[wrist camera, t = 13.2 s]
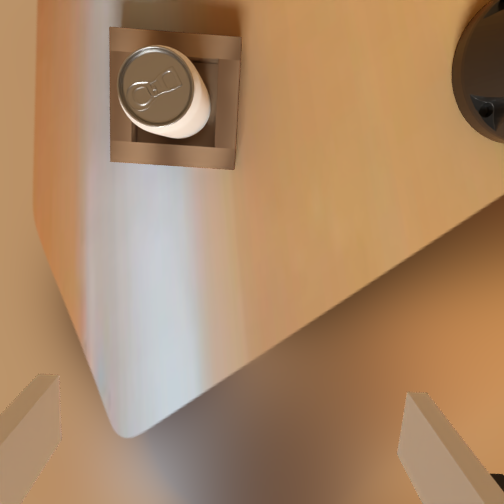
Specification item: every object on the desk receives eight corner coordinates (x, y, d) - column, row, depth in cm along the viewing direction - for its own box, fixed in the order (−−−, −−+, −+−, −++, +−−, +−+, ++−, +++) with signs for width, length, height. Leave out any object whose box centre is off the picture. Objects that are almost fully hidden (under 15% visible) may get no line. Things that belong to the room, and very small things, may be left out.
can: (134, 90, 42) (93, 66, 30) (191, 59, 42) (172, 21, 30) (167, 150, 44) (139, 148, 32) (222, 120, 43) (216, 107, 31)
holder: (241, 46, 42) (241, 37, 39) (234, 168, 45) (233, 169, 42) (120, 37, 42) (109, 26, 39) (120, 161, 45) (110, 161, 41)
